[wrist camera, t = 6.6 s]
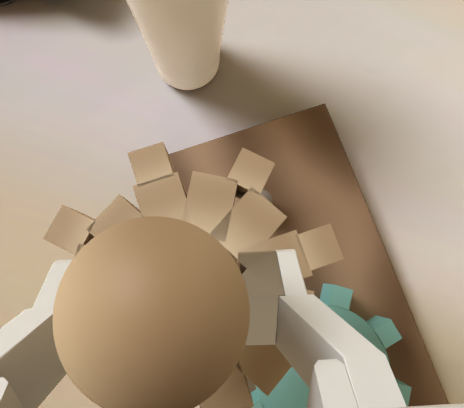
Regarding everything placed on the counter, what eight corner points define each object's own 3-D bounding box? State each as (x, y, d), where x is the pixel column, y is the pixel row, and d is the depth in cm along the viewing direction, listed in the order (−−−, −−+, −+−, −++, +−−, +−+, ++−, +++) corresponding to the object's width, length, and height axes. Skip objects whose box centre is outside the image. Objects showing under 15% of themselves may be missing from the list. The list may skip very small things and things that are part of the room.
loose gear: (100, 478, 16) (-143, 887, 5) (29, 205, 17) (-259, 102, 7) (370, 377, 16) (621, 554, 6) (276, 126, 18) (347, -68, 8)
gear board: (261, 475, 28) (268, 503, 25) (157, 164, 32) (150, 150, 28) (439, 402, 29) (468, 419, 26) (320, 111, 33) (332, 92, 30)
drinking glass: (243, 76, 33) (264, -80, 19) (172, 115, 32) (135, -16, 18) (202, 13, 34) (190, -185, 19) (132, 49, 33) (64, -129, 19)
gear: (286, 487, 27) (296, 519, 23) (204, 334, 28) (202, 342, 25) (425, 396, 28) (454, 414, 25) (339, 254, 30) (355, 252, 26)
